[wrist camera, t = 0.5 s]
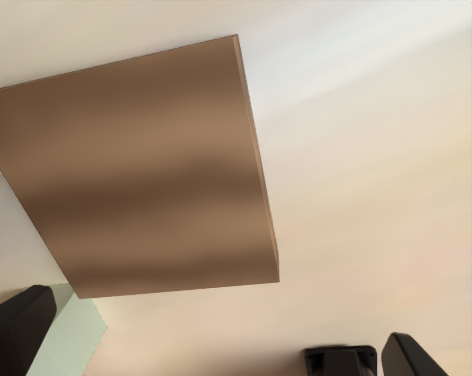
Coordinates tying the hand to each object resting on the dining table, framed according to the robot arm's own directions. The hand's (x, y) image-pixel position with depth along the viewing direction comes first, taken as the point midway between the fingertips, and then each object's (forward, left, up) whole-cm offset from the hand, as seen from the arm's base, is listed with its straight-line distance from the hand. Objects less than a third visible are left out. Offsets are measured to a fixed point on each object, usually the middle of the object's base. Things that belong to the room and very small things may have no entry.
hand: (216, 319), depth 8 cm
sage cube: (-14, +20, -14) cm, 28 cm away
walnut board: (-2, +7, -14) cm, 16 cm away
